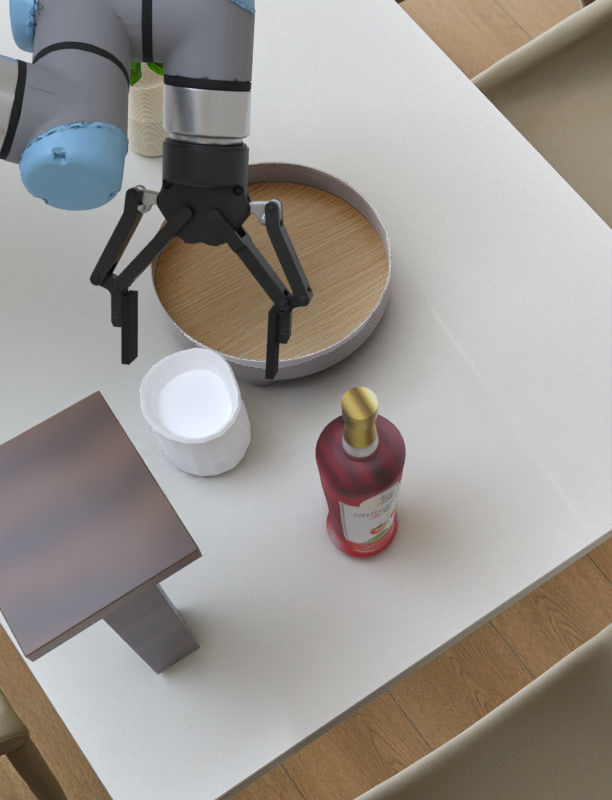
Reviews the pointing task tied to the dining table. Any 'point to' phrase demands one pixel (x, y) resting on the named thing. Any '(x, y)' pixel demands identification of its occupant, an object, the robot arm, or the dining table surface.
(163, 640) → the wooden pedestal stand
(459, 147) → the dining table surface
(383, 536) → the liquor
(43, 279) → the dining table surface
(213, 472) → the cup
